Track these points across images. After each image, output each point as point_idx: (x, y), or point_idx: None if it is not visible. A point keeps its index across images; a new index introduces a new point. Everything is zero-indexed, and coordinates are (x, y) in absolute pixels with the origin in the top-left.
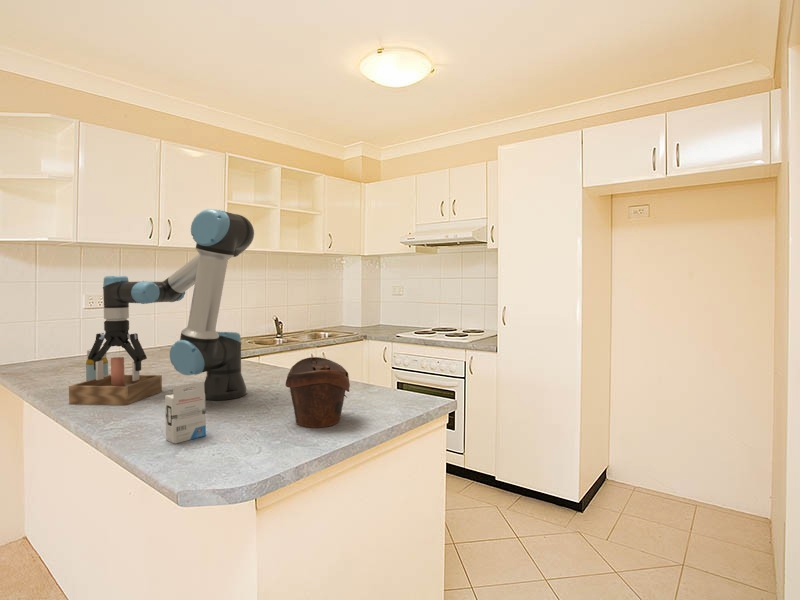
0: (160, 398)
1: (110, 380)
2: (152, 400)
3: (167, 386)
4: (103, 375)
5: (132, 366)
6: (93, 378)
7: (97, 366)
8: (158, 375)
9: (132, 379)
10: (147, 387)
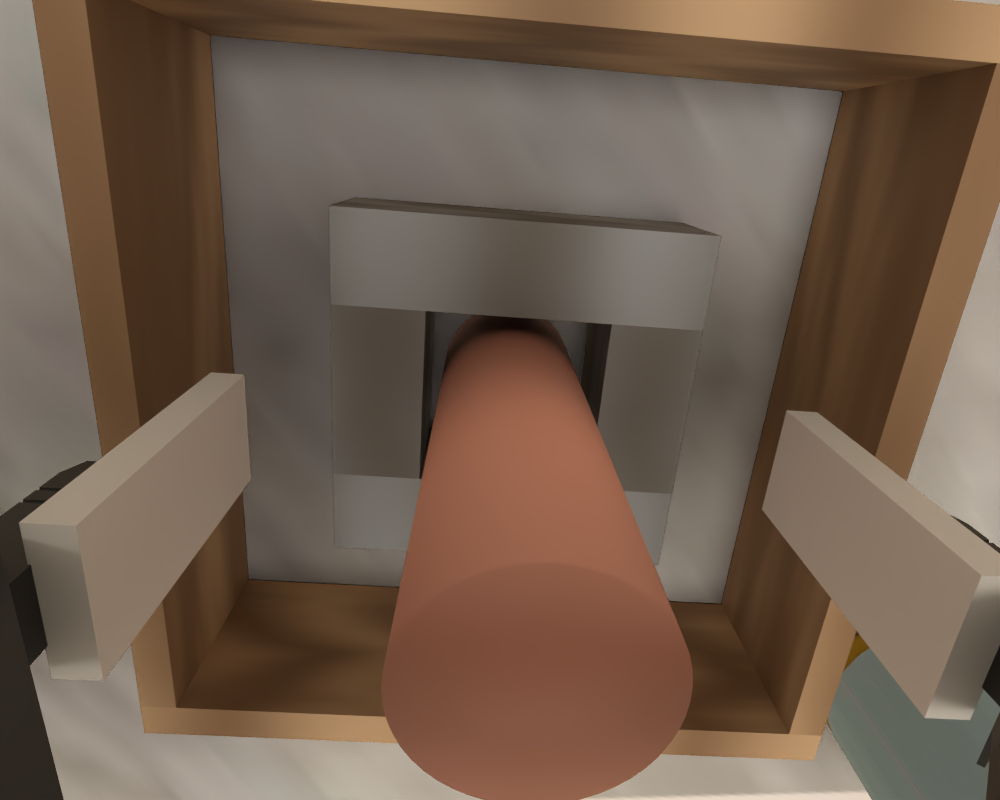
0: (16, 326)
1: (767, 668)
2: (36, 237)
3: (301, 756)
4: (907, 765)
5: (124, 477)
6: (982, 698)
7: (916, 517)
8: (176, 721)
9: (237, 383)
10: None
